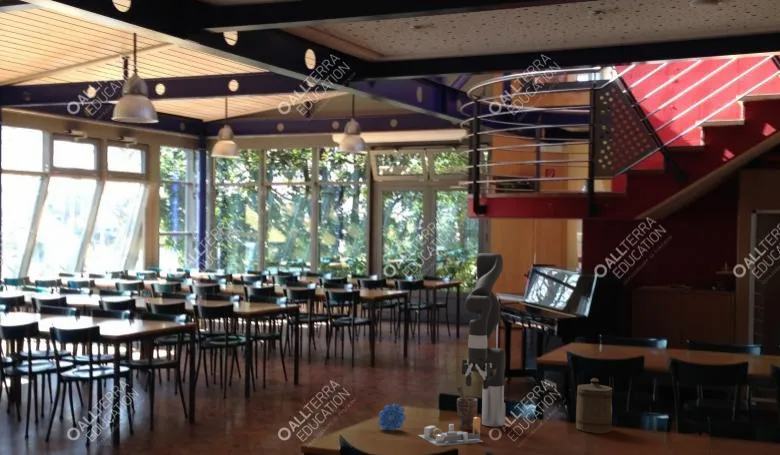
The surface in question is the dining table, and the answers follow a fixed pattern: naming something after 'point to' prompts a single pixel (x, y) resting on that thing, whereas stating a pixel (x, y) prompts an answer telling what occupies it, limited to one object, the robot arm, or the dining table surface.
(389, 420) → the blue lumpy cluster
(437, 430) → the hazelnut
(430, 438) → the nutcracker base
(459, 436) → the lever
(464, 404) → the mortar and pestle
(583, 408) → the wooden container
